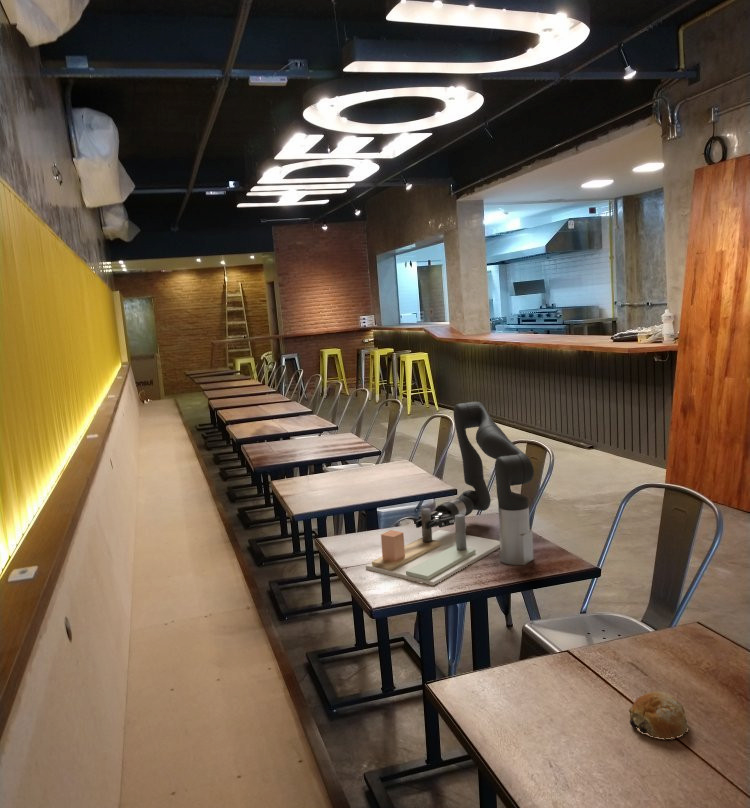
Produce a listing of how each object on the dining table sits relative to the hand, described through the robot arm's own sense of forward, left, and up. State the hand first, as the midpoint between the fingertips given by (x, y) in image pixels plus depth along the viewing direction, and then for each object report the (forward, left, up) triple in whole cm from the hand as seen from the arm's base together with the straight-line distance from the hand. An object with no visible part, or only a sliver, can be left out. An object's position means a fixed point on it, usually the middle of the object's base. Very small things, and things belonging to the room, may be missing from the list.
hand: (421, 525), depth 233 cm
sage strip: (-14, +9, -7) cm, 18 cm away
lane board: (-7, +2, -9) cm, 11 cm away
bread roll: (-94, +54, -9) cm, 109 cm away
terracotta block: (0, +15, -6) cm, 16 cm away
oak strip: (0, +8, -7) cm, 11 cm away
